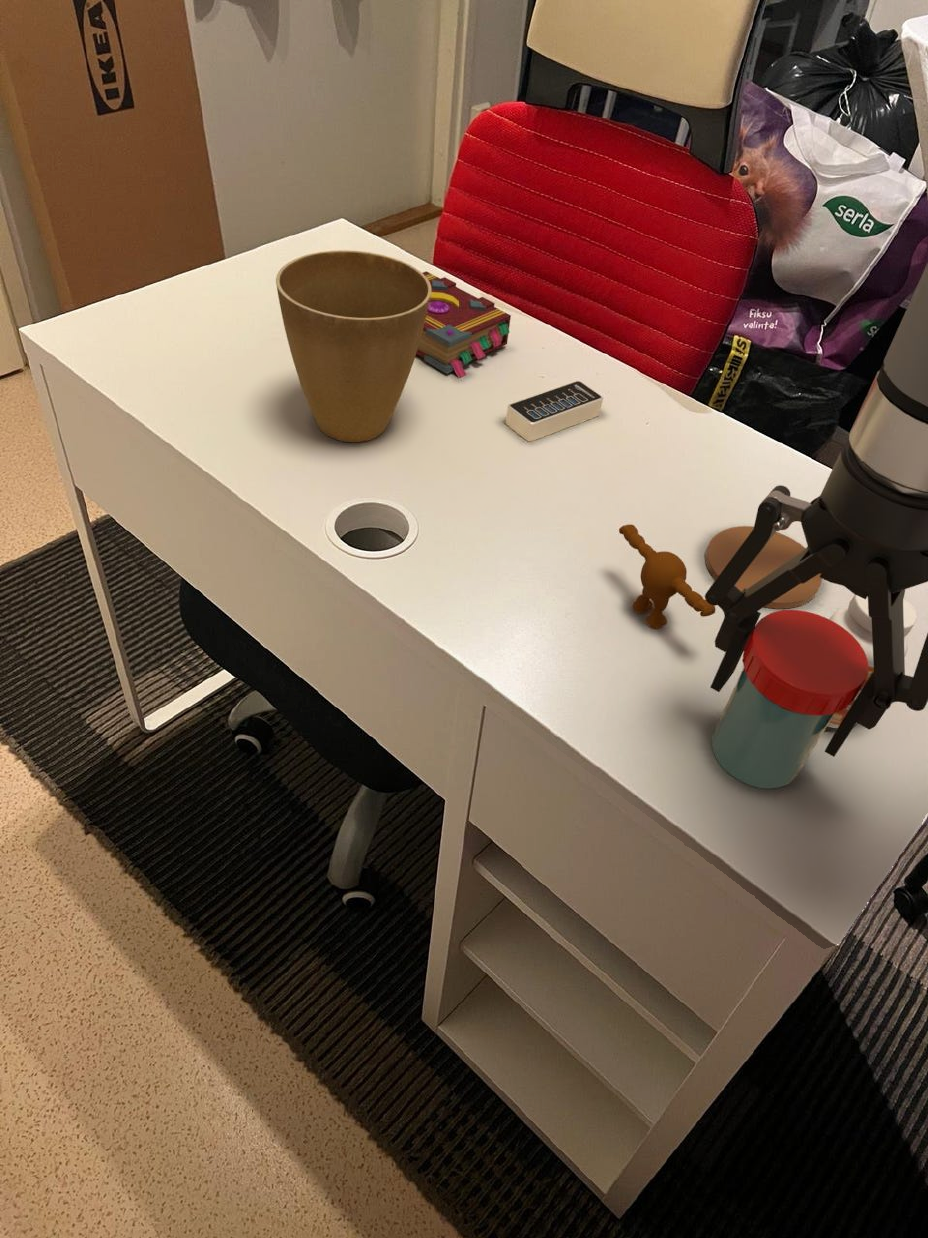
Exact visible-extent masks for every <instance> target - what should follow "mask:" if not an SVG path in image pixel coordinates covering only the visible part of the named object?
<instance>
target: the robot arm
mask: <svg viewBox="0 0 928 1238" xmlns="http://www.w3.org/2000/svg"><path fill="white" fill-rule="evenodd" d="M917 283H918V284H917V286H916V287H915V289H914V292H913V294H912V296H911V298H910V301H909V303H908V306H907V308H906V310H905V312H904V314H903V316H902V319H901V321H900V324H899V326H898V328H897V330H896V332H895V335H894V337H893V339H892V341H891V344H890V345H889V348H888V350H887V351H886V355H885V357H884V359H883V363H882V365H881V367H880V369H879V370H878V371H877V373H876V375H875V377H874V379H873V381H872V383H871V385H870V387H869V390H868V392H867V394H866V396H865V398H864V400H863V402H862V405H861V406H860V409H859V411H858V413H857V416H856V417H855V420H854V422H853V424H852V427H851V428H850V431H849V433H848V434H849V437H848V440H847V441H846V442H845V443H844V444H843V446H842V448H841V449H840V452H839V454H838V456H837V458H836V461H835V463H834V465H833V466H832V469H831V471H830V473H829V476H828V478H827V480H826V482H825V484H824V486H823V489H822V491H821V493H820V495H819V496H817V497H815V498H814V499H812V500H811V501H810V502H809V501H807V500H802V499H800V498H796V497H794V496H791V495H792V493H791V491H790V489H789V488H788V487H787V486H785V485H783V484H782V485H781V484H780V485H779V484H778V485H776V486H775V487H774V488H772V490H771V491H770V492H769V493H768V494H767V496H766V497H765V498H764V499H763V500H762V501H761V502H760V503H759V504H758V506H757V511H756V516H755V519H754V525H753V527H754V529H753V530H752V532H751V533H750V534H749V536H748V537H747V539H746V540H745V541H744V543H743V544H742V545H741V547H740V548H739V549H738V551H737V552H736V553H735V555H734V556H733V557H732V559H731V560H730V561H729V563H728V564H727V565H726V567H725V568H724V570H723V571H722V572H721V574H720V575H719V576H718V578H717V579H716V580H715V579H714V582H713V583H712V584H711V585H710V587H709V588H708V590H707V591H706V592H705V594H704V599H705V600H706V601H707V602H708V603H709V604H711V605H714V606H715V607H717V606H718V608H719V609H721V610H722V612H723V614H724V617H723V620H722V622H721V625H720V627H719V630H718V632H717V635H716V636H715V639H714V647H715V648H717V649H718V650H720V651H722V652H724V656H723V657H722V659H721V662H720V664H719V666H718V668H717V671H716V674H715V676H714V678H713V679H712V682H711V684H710V686H709V687H710V689H712V690H714V691H716V692H718V693H720V692H721V691H722V689H723V688H724V686H725V685H726V684H727V682H728V681H729V680H730V679H731V677H732V675H734V673H735V671H736V669H737V667H738V664H739V662H740V660H741V657H743V653H744V651H743V649H744V647H745V645H746V643H747V641H748V638H749V636H750V635H751V633H752V631H753V629H754V627H755V626H756V624H757V623H758V622H759V620H760V617H761V614H762V613H761V612H760V610H762V609H763V608H766V607H765V606H766V605H768V604H769V603H771V602H772V601H774V600H775V599H777V598H779V597H780V596H782V595H783V594H785V593H786V592H788V591H790V590H791V589H793V588H794V587H796V586H797V585H799V584H801V583H802V584H803V583H805V582H807V581H808V580H810V579H812V578H813V577H815V576H816V575H818V574H819V573H821V575H820V578H822V580H825V581H826V582H829V583H831V584H835V585H839V586H843V587H844V588H846V589H847V590H848V591H850V592H851V593H852V594H853V595H857V596H859V597H861V598H863V599H865V600H866V598H867V597H868V613H869V617H871V619H872V641H873V664H874V671H873V673H872V674H871V676H870V677H869V679H868V681H867V682H866V684H865V685H864V687H863V689H862V690H861V692H860V693H859V695H858V697H857V698H856V700H855V701H854V703H853V704H852V706H851V708H850V709H849V711H848V712H847V714H846V716H845V717H844V719H843V720H842V722H841V724H840V725H839V727H838V728H836V730H835V732H834V734H833V735H832V737H831V739H830V741H829V742H828V744H827V746H826V747H825V749H824V753H826V754H827V755H829V756H832V757H834V758H835V757H836V755H837V754H838V752H839V751H840V749H841V747H843V744H844V743H845V741H846V739H847V738H848V736H849V735H850V733H851V732H852V731H853V729H854V727H855V724H856V723H857V724H858V725H860V726H862V727H863V728H865V729H867V730H871V729H874V728H875V727H876V726H877V724H878V723H879V722H880V720H881V718H882V717H883V715H884V714H885V713H886V711H887V710H888V709H890V708H891V706H892V704H894V703H903V704H905V705H906V706H907V707H908V709H910V710H912V711H915V712H920V711H921V712H922V711H923V710H925V708H926V706H927V704H928V632H927V633H926V636H925V639H924V643H923V645H922V648H921V652H920V654H919V658H918V661H917V664H916V667H915V670H914V673H913V676H912V675H911V676H910V675H906V667H905V666H906V665H905V664H906V663H905V661H906V660H905V657H904V618H903V598H904V599H905V595H906V590H907V589H908V590H909V589H911V588H913V587H917V586H920V585H922V584H925V583H928V262H926V265H925V268H924V270H923V272H922V273H921V277H920V278H919V281H918V282H917ZM794 522H799V523H800V525H801V529H802V532H803V535H804V538H805V542H806V545H807V546H806V547H805V548H806V549H804V550H803V551H802V552H801V553H799V554H798V555H797V556H795V557H794V558H792V559H791V560H789V561H788V562H786V563H785V564H783V565H782V566H780V567H779V568H777V569H776V570H774V571H773V572H771V573H770V574H769V575H767V576H766V577H764V578H763V579H761V580H760V581H758V582H757V583H755V584H754V585H752V586H751V587H749V588H748V589H746V588H745V589H744V590H743V591H742V592H741V591H740V590H739V589H738V588H737V587H736V586H734V585H735V584H736V583H737V581H738V580H739V579H740V578H741V576H742V575H743V574H744V572H745V571H746V570H747V569H748V567H749V566H750V565H751V563H752V562H753V561H754V559H755V558H756V557H757V556H758V554H759V553H760V552H761V550H762V549H763V548H764V547H765V545H766V544H767V543H768V541H769V540H770V539H771V537H772V536H773V535H774V534H775V532H780V531H785V530H787V529H789V528H790V526H791V525H792V524H793V523H794ZM857 724H856V725H857Z"/></svg>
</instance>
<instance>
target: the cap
mask: <svg viewBox="0 0 928 1238" xmlns="http://www.w3.org/2000/svg"><path fill="white" fill-rule="evenodd" d="M829 619H830V618H827V617H825V616H822V615H820V614H817V613H814V612H810V611H807V610H806V611H805V610H799V609H781V610H777V611H774V612H770V613H768V614H766V615H764V616H763V617H762V618H761V619H759V620H758V621H757V623H756V625H755V627H754V629H753V631H752V633H751V635H750V636H749V638H748V641H747V643H746V645H745V647H744V649H743V653H742V659H741V661H742V664H743V669H745V672H746V674H747V676H748V678H749V680H750V681H751V683H752V684H753V685H754V686H755V687H756V689H757V690H758V691H759V692H760V693H762V694H763V695H764V696H765V697H766V698H768V699H769V700H771V701H772V702H774V703H775V704H777V705H779V706H781V707H783V708H785V709H788V710H790V711H793V712H797V713H801V714H805V715H814V716H822V715H829V714H835V713H836V712H839V711H841V710H843V709H844V708H845V709H846V708H847V706H848V705H849V704H850V703H851V701H854V699H855V697H856V696H857V694H858V693H859V691H860V689H861V688H862V686H863V685H862V684H863V682H864V681H865V679H866V677H867V673H868V660H867V657H866V654H865V652H864V650H863V648H862V647H861V645H860V644H859V642H858V641H857V640H856V639H855V638H854V637H853V636H852V635H851V634H850V633H849V632H848V631H847V630H845V629H844V628H843V627H841V626H840V625H838V624H837V623H835V622H833V621H831V620H829Z"/></svg>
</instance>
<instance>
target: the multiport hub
mask: <svg viewBox="0 0 928 1238" xmlns="http://www.w3.org/2000/svg"><path fill="white" fill-rule="evenodd" d="M603 401H604V396H602V395H601V394H599V393H598V392H597V391H595V389H592V388H591V387H589V386H588V385H587V384H585V383H584V382H582V381H580V380H575V381H573V382H572V381H571V382H570V383H566V384H564V385H561V386H559V387H555V388H552V389H550V390H547V391H544V392H541V393H538V394H535V395H532V396H529V397H526V398H524V399H520V400H517V401H515V402H512V403H509V404H508V405H507V410H506V415H505V416H506V417H505V425H506V426H507V427H509V428H510V429H511V430H513V431H514V432H515V433H517V434H518V435H519V436H520V437H522V438H523V439H524V440H526V441H527V442H533V441H537V440H539V439H542V438H544V437H547V436H549V435H552V434H554V433H558V432H560V431H564V430H566V429H568V428H571V427H573V426H576V425H579V424H581V423H584V422H587V421H589V420H592V419H594V418H597V417H599V416H600V414H601V409H602V405H603Z"/></svg>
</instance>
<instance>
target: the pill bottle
mask: <svg viewBox="0 0 928 1238" xmlns="http://www.w3.org/2000/svg"><path fill="white" fill-rule="evenodd" d="M903 618H904V658H906V656H907V653H908V649H909V642H908V637H907V635H909V633H910V632H911V630H912V629H913V627H914V626H915V624H916V622H917V612H916V610H915V608H914V606H913V605H912V604H911V603H910V602H909V601H908V600H907V599H906V598H905V597H904V598H903ZM828 619H829V620H831V621H833V622H835V623H837V624H838V625H840V626H841V627H843V628H844V629H845V630H847V631H848V632H849V633H850V634H851V635H852V636H853V637H854V638H855V639H856V640H857V641H858V642H859V644H860V645H861V647H862V648H863V650H864V652H865V654H866V657H867V660H868V673H867V677H866V679H865V681H864V682H863V684H862V685H863V686H862V688H861V689H860V691H859V693H860V692H861V690H862V689H863V687H864V685H865V684H866V682H867V681H868V679H869V677H870V676H871V674H872V673H873V671H874V664H873V641H872V619H871V617H869V613H868V597H867V598H866V600H865V599H863V598H861V597H859V596H857V595H855V594H853V596H852V598H851V599H850V601H849V603H848V605H846V606H843V607H841V608H838V609H837V610H836V611H834V612H833V613H832V615H831V616H830V617H829V618H828ZM859 693H858V694H857V696H856V697H855V699H854V701H855V700H856V698H857V697H858V695H859ZM854 701H851V703H850V704H849V705H848V706H847V708H846V709H845V708H844V709H843V710H841V711H839V712H836V713H835V714H834V716H833V717H832V719H831V721H830V722H829V724H828V726H827V727H828V728H832V729H837V728H838V727H839V725H840V724H841V722H842V720H843V719H844V717H845V716H846V714H847V712H848V711H849V709H850V708H851V706H852V704H853V703H854ZM857 724H858V723H856V724H855V725H857Z"/></svg>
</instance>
